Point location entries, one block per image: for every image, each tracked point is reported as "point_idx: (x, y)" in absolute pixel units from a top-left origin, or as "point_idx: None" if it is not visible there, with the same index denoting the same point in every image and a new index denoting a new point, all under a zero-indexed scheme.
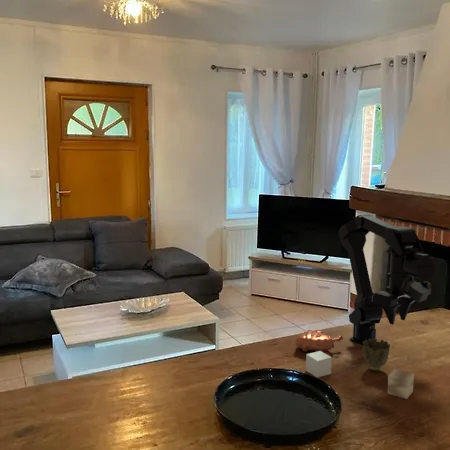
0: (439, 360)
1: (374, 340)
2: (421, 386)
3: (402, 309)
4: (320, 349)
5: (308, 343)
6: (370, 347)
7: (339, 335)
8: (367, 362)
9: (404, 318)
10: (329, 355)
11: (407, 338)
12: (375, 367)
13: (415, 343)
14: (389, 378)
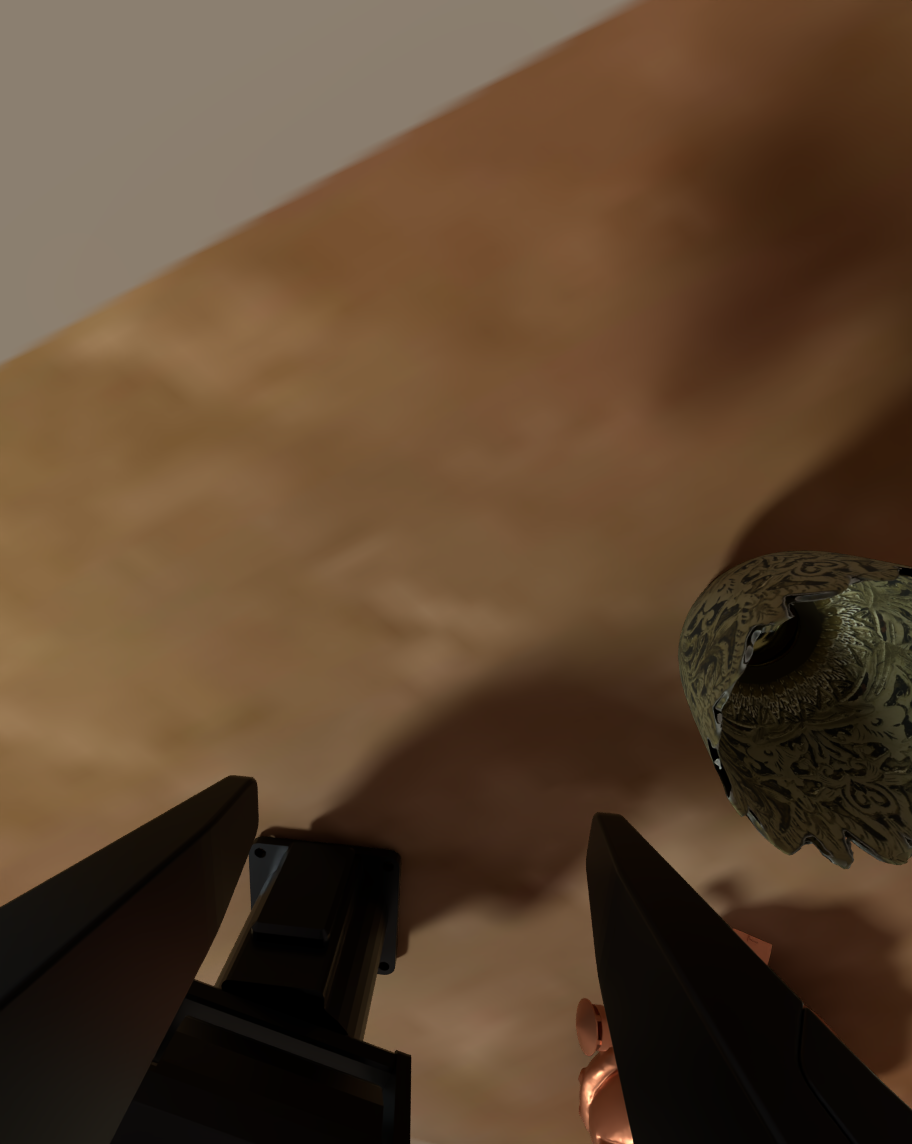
0: (170, 331)
1: (740, 798)
2: (788, 173)
3: (118, 1022)
4: (818, 1015)
5: None
6: (742, 769)
7: (586, 1051)
8: (862, 670)
9: (238, 795)
10: (737, 931)
11: (18, 716)
12: (801, 602)
13: (45, 632)
14: None
